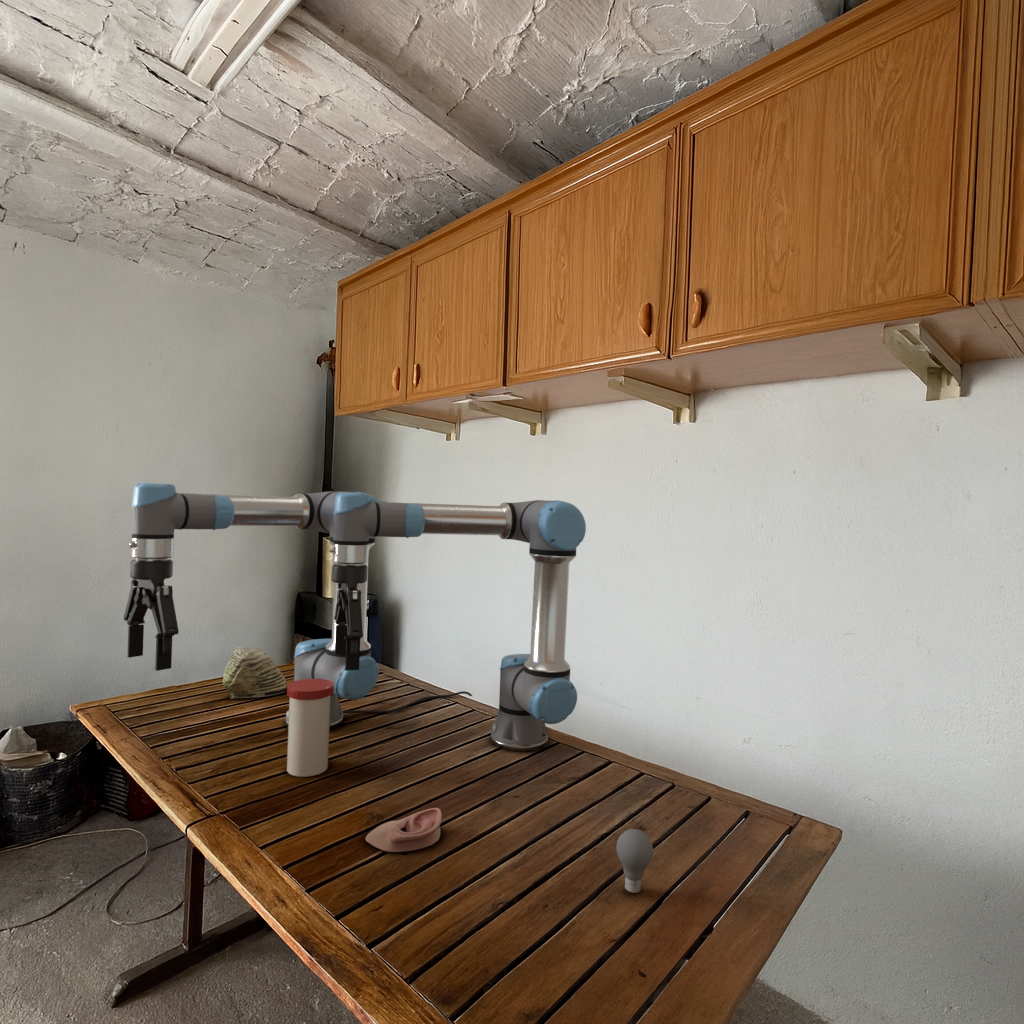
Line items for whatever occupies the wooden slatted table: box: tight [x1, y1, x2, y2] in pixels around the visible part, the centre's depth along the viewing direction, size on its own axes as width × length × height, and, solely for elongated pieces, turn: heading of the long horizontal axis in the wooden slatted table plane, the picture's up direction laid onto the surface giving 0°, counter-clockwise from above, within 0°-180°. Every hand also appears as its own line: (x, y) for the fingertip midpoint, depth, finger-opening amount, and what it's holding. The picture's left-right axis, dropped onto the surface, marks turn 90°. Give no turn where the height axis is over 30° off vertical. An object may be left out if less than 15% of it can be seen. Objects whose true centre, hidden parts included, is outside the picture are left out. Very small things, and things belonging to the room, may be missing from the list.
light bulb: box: [615, 828, 654, 894], centre depth 106 cm, size 6×6×10 cm
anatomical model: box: [364, 807, 443, 853], centre depth 119 cm, size 13×4×12 cm
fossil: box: [222, 646, 288, 699], centre depth 198 cm, size 9×18×15 cm, turn 132°
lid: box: [286, 679, 334, 700], centre depth 147 cm, size 10×10×2 cm
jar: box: [286, 695, 331, 778], centre depth 147 cm, size 9×9×19 cm
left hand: (148, 662), depth 129 cm, fingers open, 13 cm apart
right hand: (346, 661), depth 137 cm, fingers open, 13 cm apart
